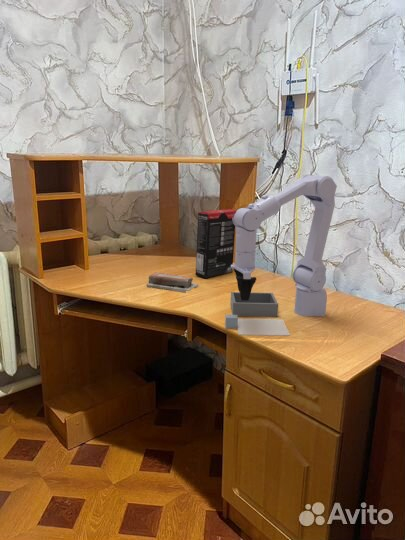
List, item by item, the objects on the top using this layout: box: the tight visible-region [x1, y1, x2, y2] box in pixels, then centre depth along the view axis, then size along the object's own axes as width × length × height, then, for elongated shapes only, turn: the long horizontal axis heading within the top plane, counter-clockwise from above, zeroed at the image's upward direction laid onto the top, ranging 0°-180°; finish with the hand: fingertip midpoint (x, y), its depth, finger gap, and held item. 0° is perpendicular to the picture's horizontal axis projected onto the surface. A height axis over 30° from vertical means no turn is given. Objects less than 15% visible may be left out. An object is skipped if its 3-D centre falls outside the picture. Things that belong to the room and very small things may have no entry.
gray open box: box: [230, 291, 279, 318], centre depth 136 cm, size 14×11×5 cm
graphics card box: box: [195, 208, 237, 279], centre depth 176 cm, size 17×7×27 cm, turn 135°
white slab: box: [224, 314, 291, 337], centre depth 123 cm, size 18×11×4 cm, turn 90°
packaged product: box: [145, 271, 199, 294], centre depth 161 cm, size 18×5×10 cm
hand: (243, 295), depth 124 cm, fingers open, 7 cm apart
